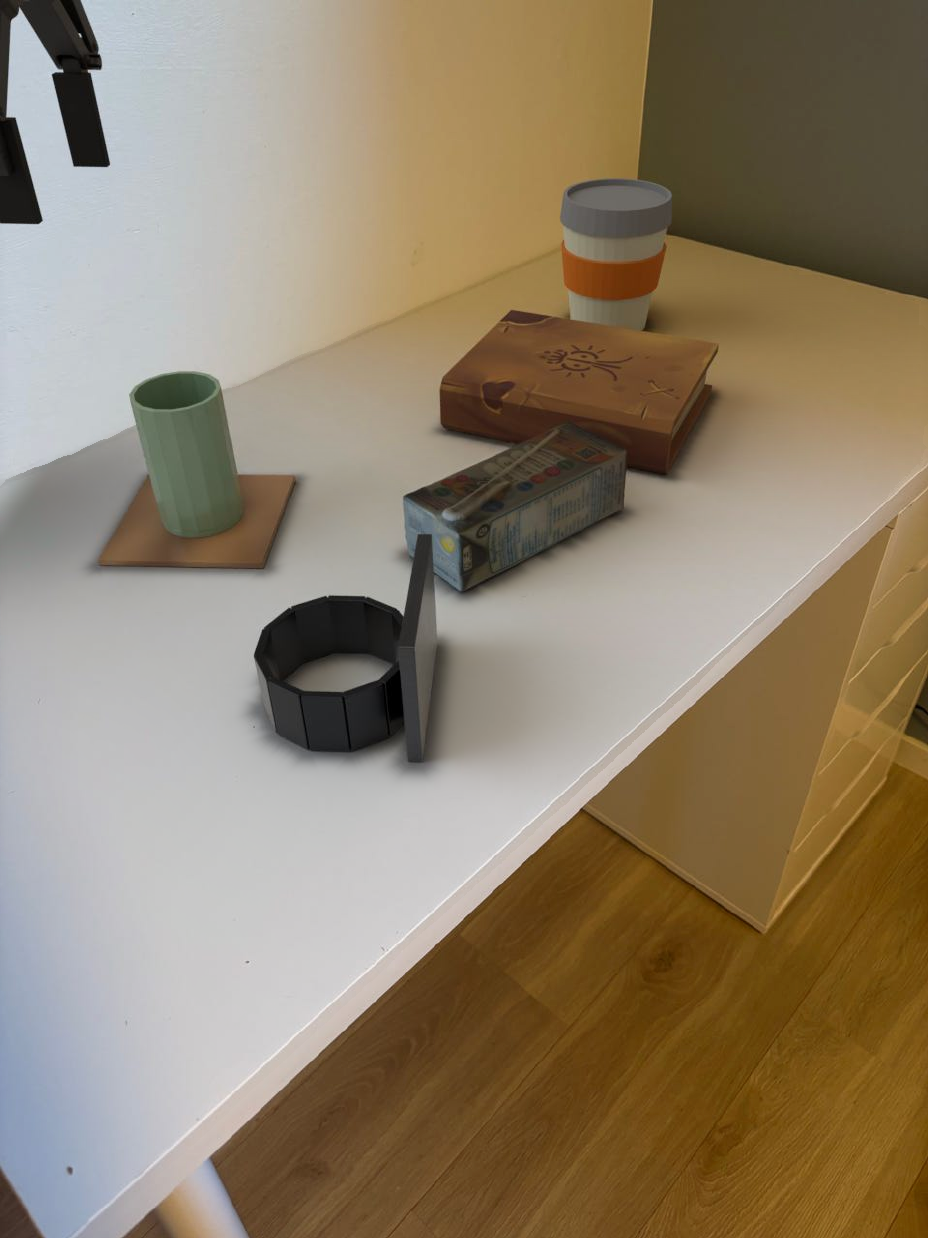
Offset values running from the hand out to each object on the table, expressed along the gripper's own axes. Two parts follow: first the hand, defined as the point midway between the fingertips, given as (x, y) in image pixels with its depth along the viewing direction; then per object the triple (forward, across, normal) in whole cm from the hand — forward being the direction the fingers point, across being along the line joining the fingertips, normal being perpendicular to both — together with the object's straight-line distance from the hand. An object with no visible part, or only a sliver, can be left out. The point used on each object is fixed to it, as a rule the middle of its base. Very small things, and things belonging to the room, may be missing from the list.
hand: (59, 192), depth 73 cm
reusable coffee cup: (+27, +42, -44) cm, 67 cm away
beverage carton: (+27, -3, -35) cm, 44 cm away
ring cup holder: (+27, -24, -23) cm, 43 cm away
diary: (+27, +19, -41) cm, 52 cm away
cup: (+27, -2, -7) cm, 28 cm away
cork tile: (+27, -2, -7) cm, 28 cm away
